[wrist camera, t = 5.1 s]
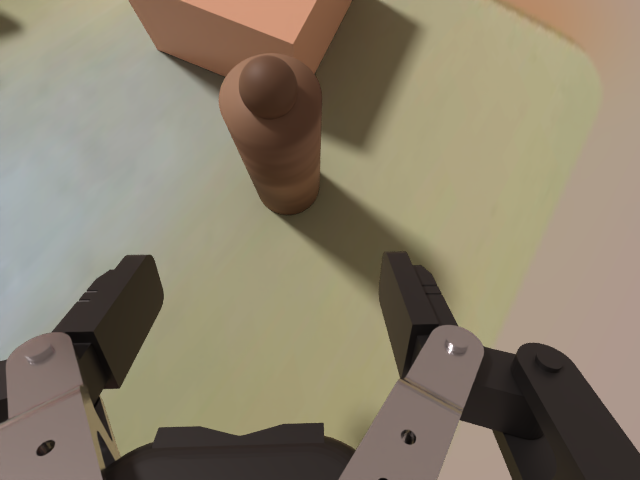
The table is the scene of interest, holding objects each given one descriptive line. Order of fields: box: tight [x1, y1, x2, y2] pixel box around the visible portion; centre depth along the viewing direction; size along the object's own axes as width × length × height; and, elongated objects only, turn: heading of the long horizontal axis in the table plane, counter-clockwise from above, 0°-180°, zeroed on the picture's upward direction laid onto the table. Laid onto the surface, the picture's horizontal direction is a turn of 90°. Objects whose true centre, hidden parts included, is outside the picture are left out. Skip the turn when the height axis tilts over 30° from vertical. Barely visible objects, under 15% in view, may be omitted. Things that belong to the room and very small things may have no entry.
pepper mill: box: [219, 53, 322, 215], centre depth 19 cm, size 4×4×12 cm
